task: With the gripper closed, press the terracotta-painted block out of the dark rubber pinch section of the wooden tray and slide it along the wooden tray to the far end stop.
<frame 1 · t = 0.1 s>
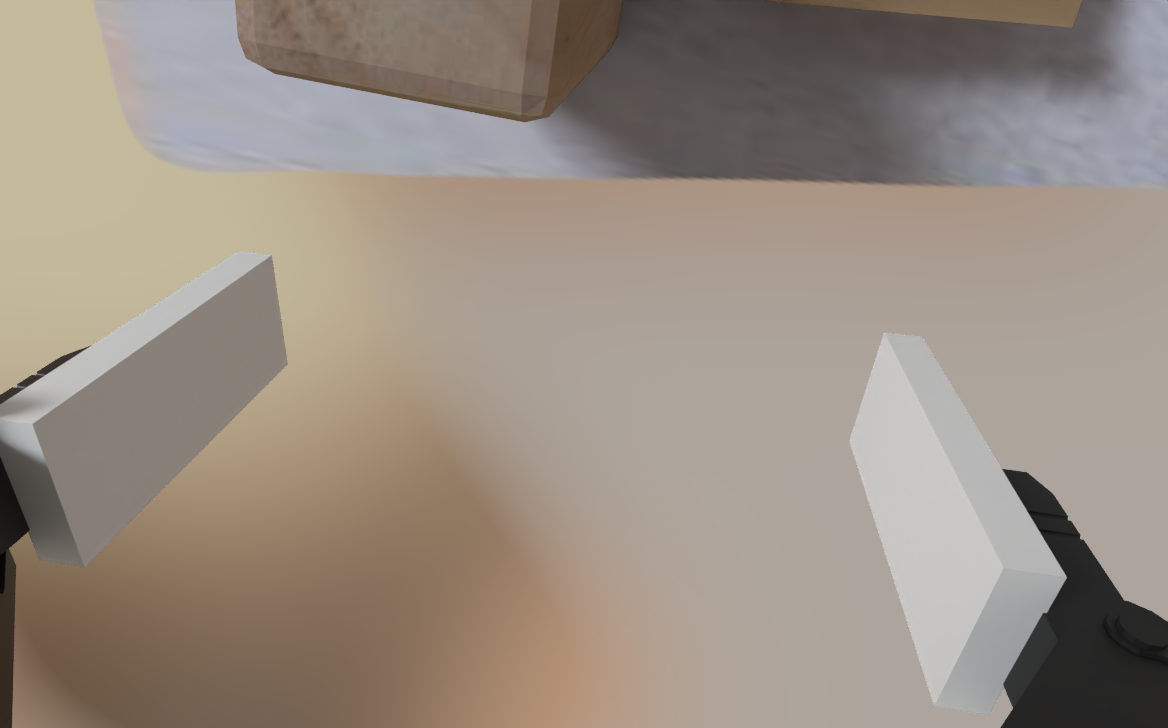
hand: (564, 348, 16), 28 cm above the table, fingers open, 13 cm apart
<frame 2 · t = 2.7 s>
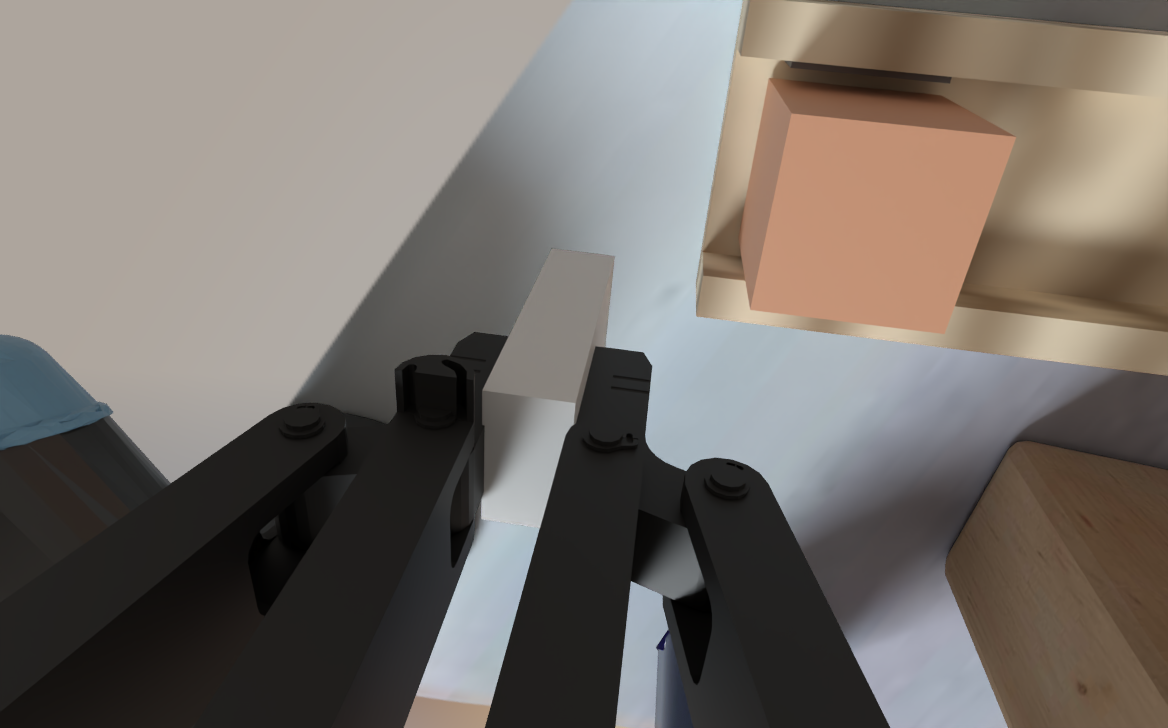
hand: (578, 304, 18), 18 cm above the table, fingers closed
wooden tray: (987, 180, 32), on the table
terracotta block: (850, 197, 28), point 5 cm above the table, slide at 0.0 cm
bottle: (724, 651, 49), on the table
wooden block: (1056, 517, 41), on the table
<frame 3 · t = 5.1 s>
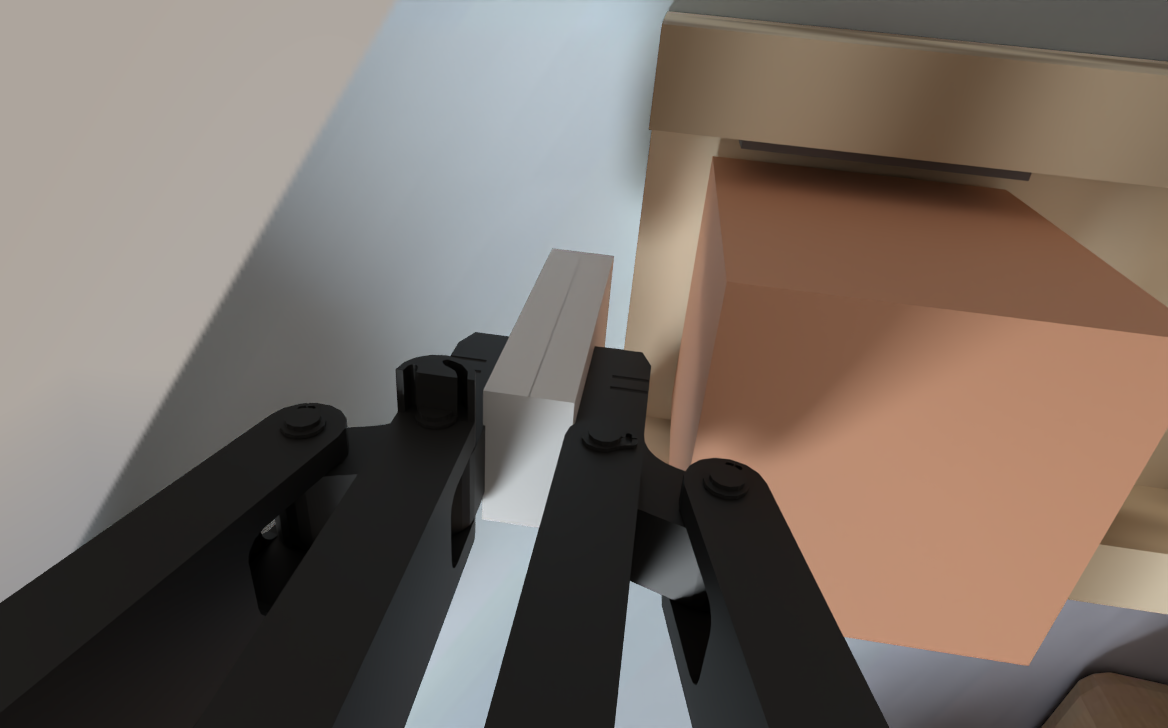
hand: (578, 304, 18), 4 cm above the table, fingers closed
wooden tray: (1069, 316, 20), on the table
terracotta block: (850, 379, 16), point 5 cm above the table, slide at 0.1 cm, touching gripper
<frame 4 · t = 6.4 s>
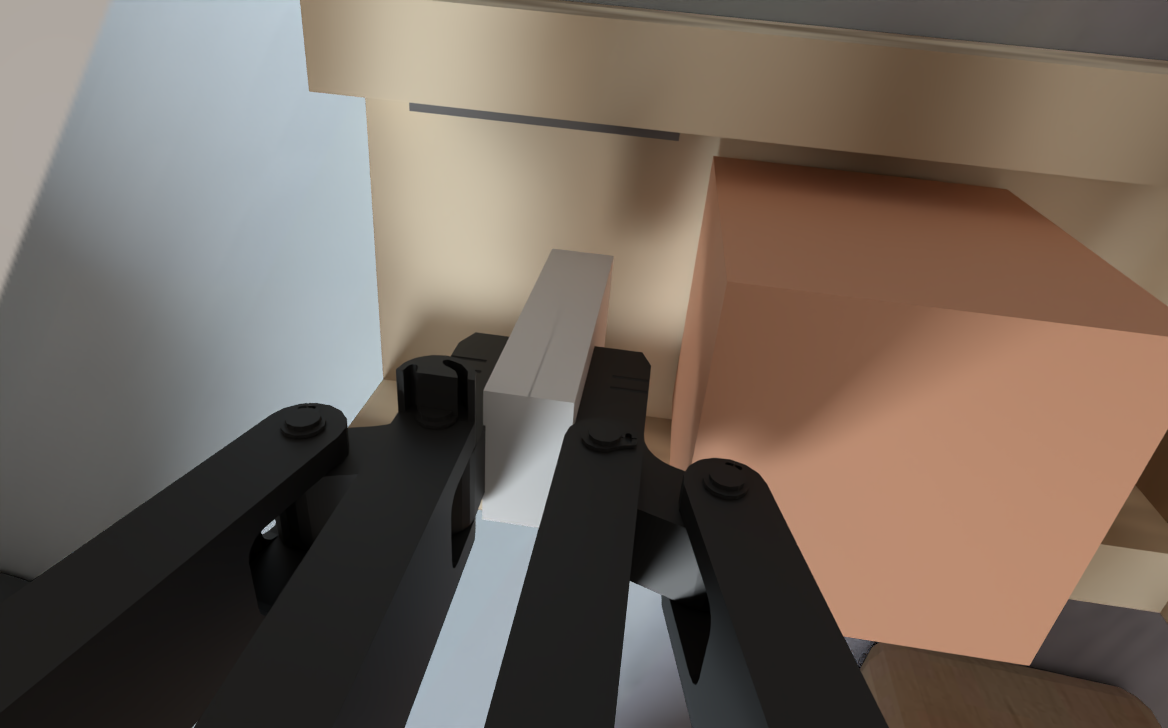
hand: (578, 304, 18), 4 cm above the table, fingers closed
wooden tray: (800, 282, 20), on the table
terracotta block: (851, 378, 16), point 5 cm above the table, slide at 7.4 cm, touching gripper
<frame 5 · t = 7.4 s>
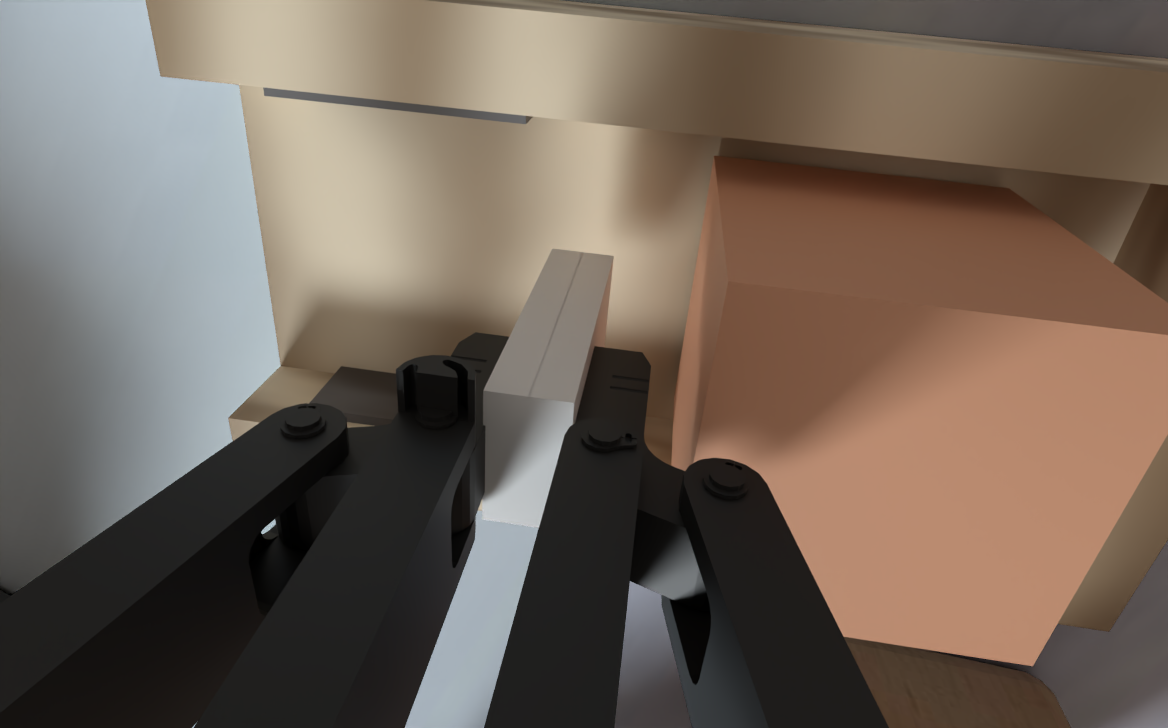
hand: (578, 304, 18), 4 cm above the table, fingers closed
wooden tray: (681, 267, 21), on the table
terracotta block: (853, 378, 16), point 5 cm above the table, slide at 10.8 cm, touching gripper
wooden block: (866, 715, 29), on the table
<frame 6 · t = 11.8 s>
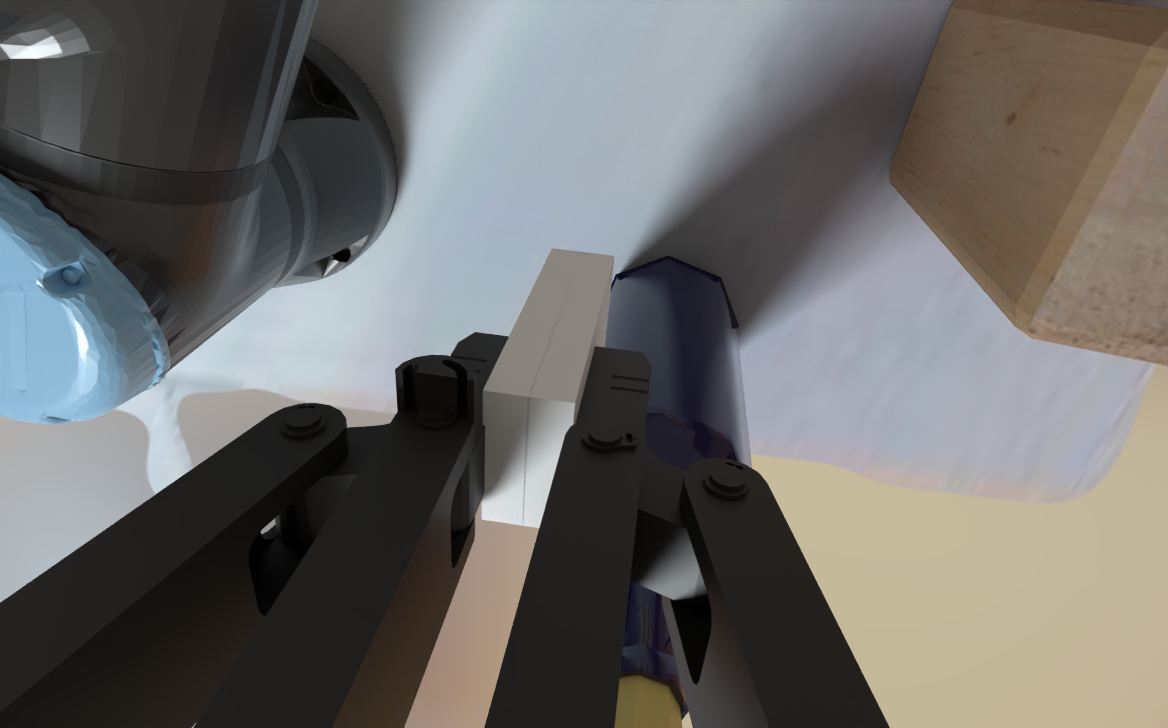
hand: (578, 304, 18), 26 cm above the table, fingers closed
bottle: (666, 321, 47), on the table
wooden block: (1005, 106, 38), on the table
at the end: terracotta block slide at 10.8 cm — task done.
